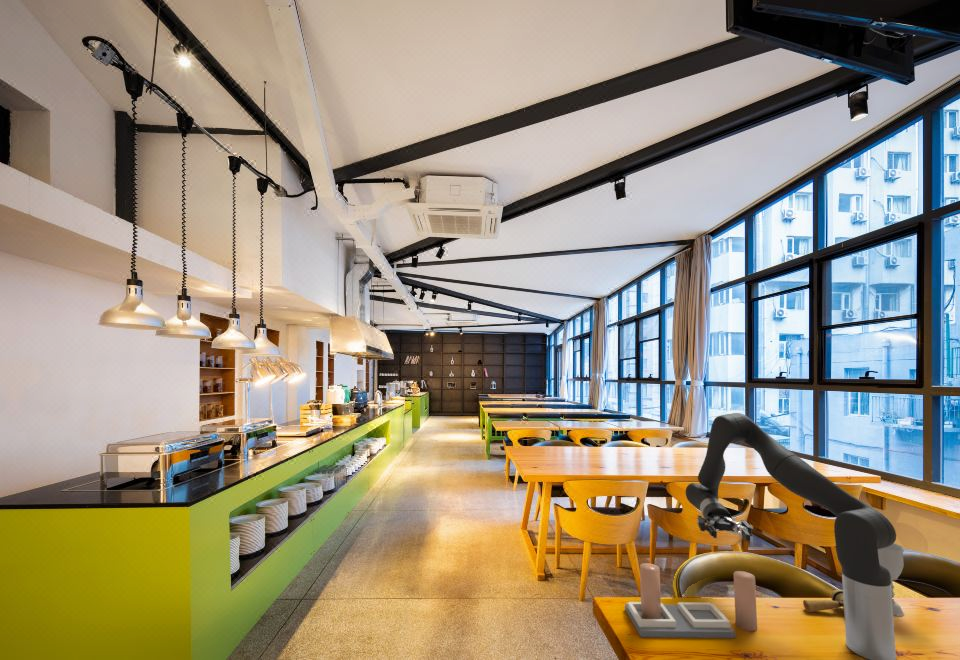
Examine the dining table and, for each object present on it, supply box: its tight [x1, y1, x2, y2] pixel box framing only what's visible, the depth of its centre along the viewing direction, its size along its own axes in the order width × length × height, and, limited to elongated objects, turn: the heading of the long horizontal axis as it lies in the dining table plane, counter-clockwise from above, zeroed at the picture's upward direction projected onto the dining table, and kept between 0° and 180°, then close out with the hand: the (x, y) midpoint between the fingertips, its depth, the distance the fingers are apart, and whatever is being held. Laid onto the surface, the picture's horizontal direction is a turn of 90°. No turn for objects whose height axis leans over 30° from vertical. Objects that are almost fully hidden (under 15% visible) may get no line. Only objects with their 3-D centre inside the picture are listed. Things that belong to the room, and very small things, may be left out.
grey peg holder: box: [624, 562, 736, 639], centre depth 122 cm, size 24×13×14 cm, turn 90°
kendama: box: [802, 588, 844, 613], centre depth 127 cm, size 8×6×18 cm
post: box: [733, 570, 758, 632], centre depth 121 cm, size 5×5×13 cm
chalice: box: [878, 542, 906, 617], centre depth 129 cm, size 7×7×18 cm
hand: (731, 536), depth 132 cm, fingers open, 8 cm apart
